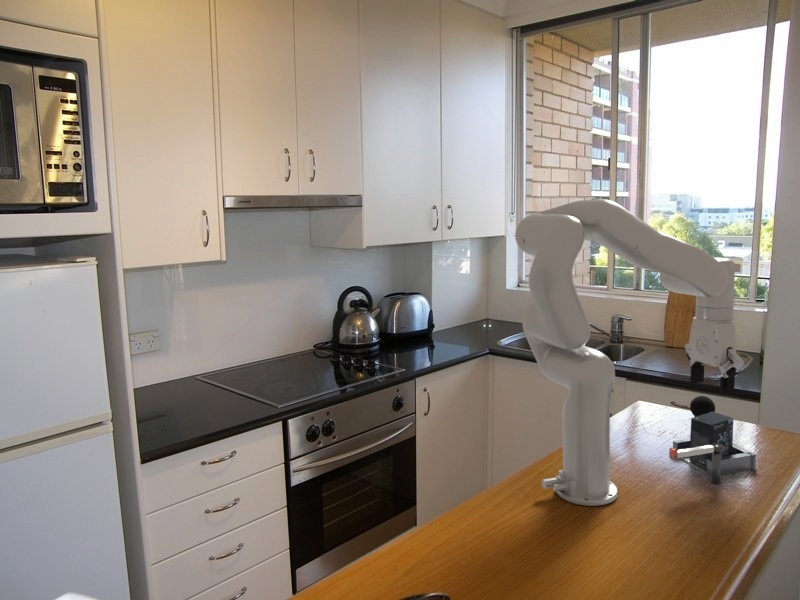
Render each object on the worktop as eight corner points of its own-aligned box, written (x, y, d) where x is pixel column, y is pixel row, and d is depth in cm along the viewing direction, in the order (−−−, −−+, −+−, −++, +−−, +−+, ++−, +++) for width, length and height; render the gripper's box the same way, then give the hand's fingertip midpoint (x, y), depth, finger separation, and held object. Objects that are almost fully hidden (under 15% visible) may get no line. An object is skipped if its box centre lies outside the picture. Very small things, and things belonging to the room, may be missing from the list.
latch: (674, 460, 129) (674, 452, 129) (666, 455, 131) (666, 447, 131) (726, 451, 132) (726, 443, 131) (717, 447, 134) (717, 439, 134)
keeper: (715, 484, 133) (716, 453, 132) (665, 455, 148) (666, 427, 147) (767, 475, 136) (769, 445, 135) (713, 447, 151) (714, 420, 150)
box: (711, 469, 139) (712, 424, 137) (688, 461, 144) (689, 417, 142) (733, 461, 143) (734, 417, 141) (710, 453, 148) (711, 410, 146)
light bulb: (718, 437, 157) (720, 399, 156) (695, 438, 158) (696, 400, 156) (707, 429, 163) (708, 392, 162) (685, 430, 163) (686, 393, 162)
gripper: (673, 308, 146) (672, 379, 148) (728, 321, 129) (725, 401, 132) (701, 306, 147) (699, 376, 150) (758, 318, 131) (755, 397, 133)
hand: (711, 387), depth 141 cm, fingers open, 9 cm apart
